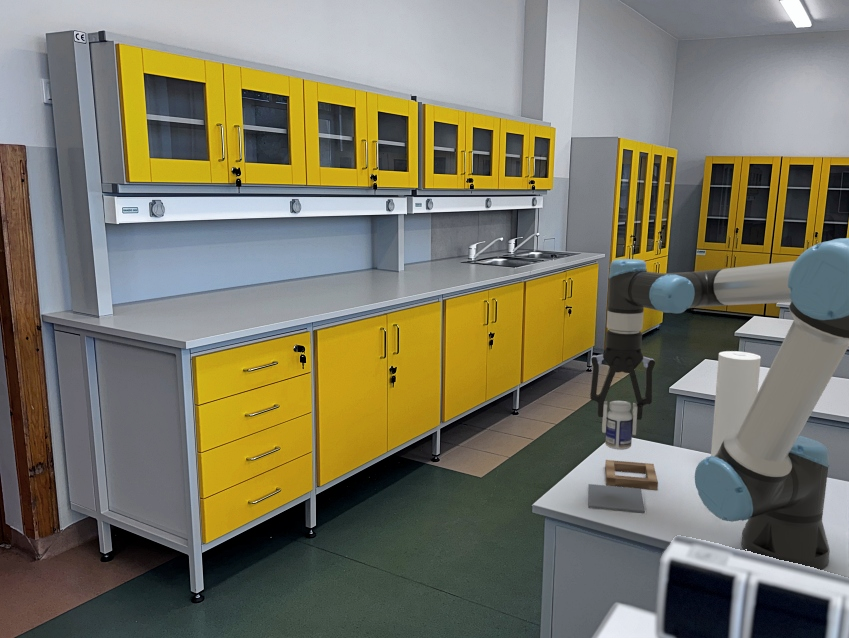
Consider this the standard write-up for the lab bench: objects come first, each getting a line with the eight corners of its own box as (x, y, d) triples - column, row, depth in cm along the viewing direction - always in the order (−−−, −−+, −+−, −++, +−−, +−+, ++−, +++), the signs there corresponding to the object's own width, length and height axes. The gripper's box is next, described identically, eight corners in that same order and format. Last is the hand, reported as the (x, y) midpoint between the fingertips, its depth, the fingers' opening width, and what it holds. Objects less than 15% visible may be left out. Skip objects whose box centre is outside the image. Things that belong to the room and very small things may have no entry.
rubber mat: (645, 513, 151) (645, 511, 151) (588, 507, 154) (588, 505, 153) (640, 490, 162) (641, 488, 162) (588, 485, 165) (588, 483, 165)
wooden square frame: (657, 490, 163) (658, 482, 162) (606, 485, 165) (606, 477, 165) (653, 471, 174) (653, 463, 173) (605, 467, 176) (605, 459, 176)
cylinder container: (757, 476, 171) (768, 357, 166) (718, 476, 171) (728, 357, 166) (740, 462, 180) (750, 349, 175) (704, 461, 180) (712, 349, 175)
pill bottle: (631, 442, 158) (633, 400, 156) (631, 451, 152) (634, 408, 151) (605, 440, 159) (607, 398, 158) (604, 449, 154) (606, 405, 152)
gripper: (667, 329, 153) (660, 429, 157) (580, 325, 157) (576, 423, 161) (671, 335, 145) (664, 440, 150) (580, 331, 150) (575, 434, 154)
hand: (618, 431), depth 155 cm, fingers closed on pill bottle, 6 cm apart
